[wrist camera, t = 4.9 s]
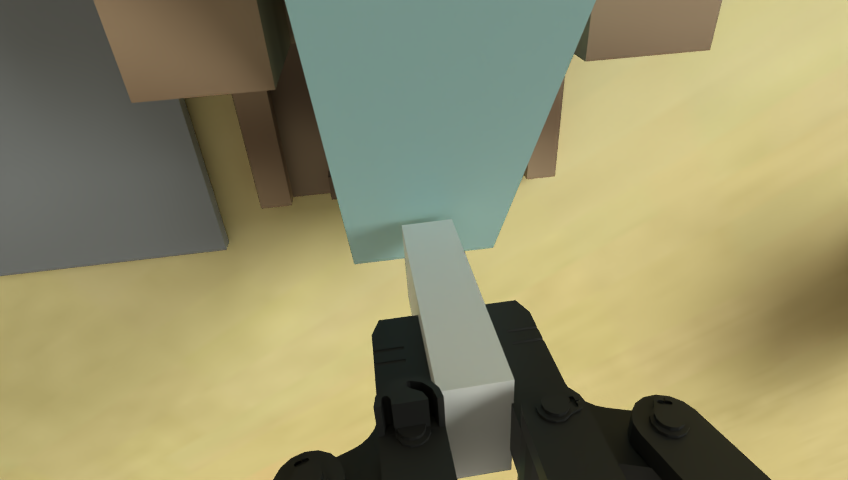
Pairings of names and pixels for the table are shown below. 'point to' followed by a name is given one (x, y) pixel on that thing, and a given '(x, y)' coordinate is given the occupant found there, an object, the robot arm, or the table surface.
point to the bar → (431, 107)
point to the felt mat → (90, 152)
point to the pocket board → (286, 85)
